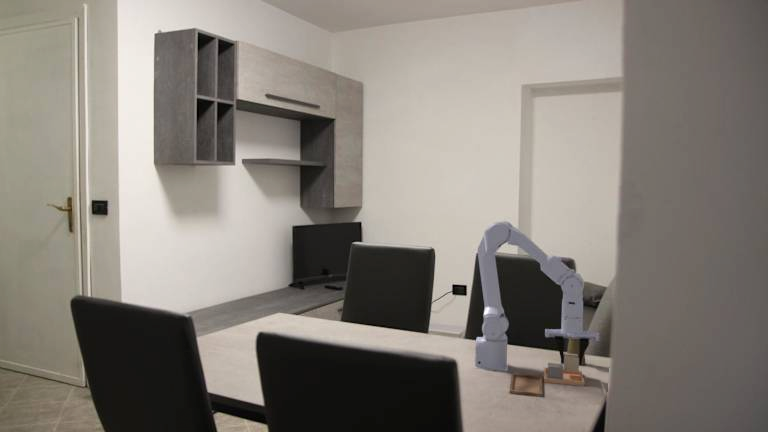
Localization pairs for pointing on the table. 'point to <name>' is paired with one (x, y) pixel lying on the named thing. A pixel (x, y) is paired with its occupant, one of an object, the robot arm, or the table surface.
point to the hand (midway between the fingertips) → (570, 363)
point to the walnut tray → (526, 385)
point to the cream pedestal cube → (571, 362)
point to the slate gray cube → (555, 371)
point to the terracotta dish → (566, 378)
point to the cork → (575, 349)
